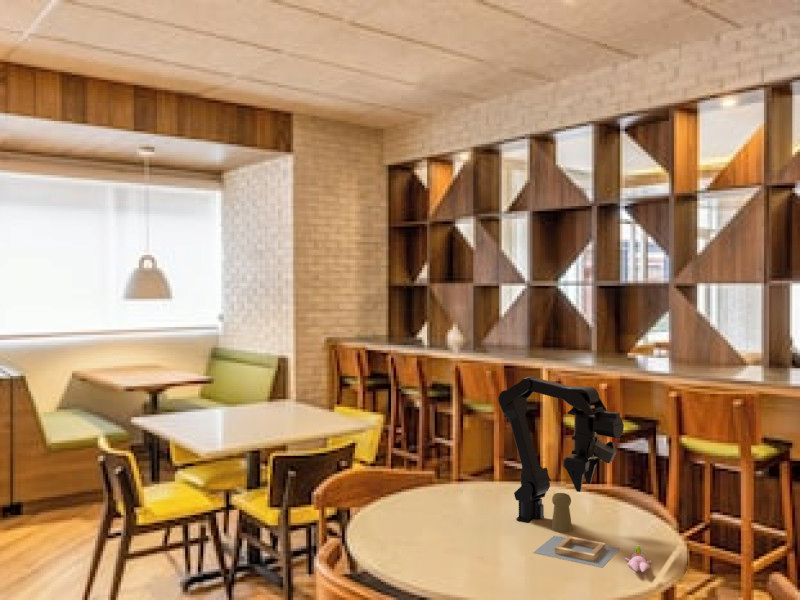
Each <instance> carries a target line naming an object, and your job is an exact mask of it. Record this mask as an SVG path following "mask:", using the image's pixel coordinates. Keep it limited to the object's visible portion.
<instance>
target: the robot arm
mask: <svg viewBox="0 0 800 600" xmlns="http://www.w3.org/2000/svg"><path fill="white" fill-rule="evenodd" d="M533 393H535V394H536V393H537V394H541V395H543V396H544V395H545V396H547V397H552V398H555V399H558V400H563V401H564V402H566V403H567V404H568V405H569V406H572V408H571V409H570V410H568V411H567V413H566V414H567V415H568V416H574V417H573V418H574V424H573V425H574V428H573V431H574V432H573V435H572V436H571V441H572V440H573V449H572V450H571V454H570V455H567V456H566V457H565V458H564V459H563V461H562V467H563V468H564V469H565V470H566V471H567V474H568V476H569V477H570V480H571V482H572V484H573V488H574V489H575V491H576V492H578V493H580V492H582V486H583V481H584V479H585V482H586V484H591V483H592V479H593V477H594V473H595V469H596V465H597V464H598V463H600V462H601V461H603V462H604V463H606V464H611V463H612V462H613V461H614V459H615V457H616V455H617V453H618V452H617V451H618V450H617V448H616V445H615V442H612V440H611V441H608V442H606V443H605V442H601V441H599V437H598V436H602V437H603V436H604V437H609V438H613V439H620V438H621V437H622V435H623V433H624V430H625V429H624V427H625V426H624V422H623V420H622V418H621V417H620V415H621V414H620V412H617V411H611V412H610V411H608V409H607V408H606V406H605V404H604V402H603V401H602V399H601V397H600V394H599V392H598V390H597V389H596V388H595V387H593V386H586V385H585V386H584V385H583V386H582V385H580V386H579V385H575V386H574V385H566V384H562V383H559V382H555V381H550V380H545V379H543V378H538V377H536V376H533V375H531V376H527V377H524V378H523V379H521V380H520V381H519V382H517V383H516V384H514V385H513V386H510V387H509V388H507V389H504V390H503V391H500V393H499V395H498V397H497V399H498V400H497V401H498V404H499V407H500V409H501V410H502V413H503V414H504V415H505V417H506V418H507V419H508V420H509V423H510V427H511V430H512V435H513V438H514V441H515V445H516V449H517V453H518V456H519V457H518V458H519V460H520V465H521V471H520V476H519V477H520V478H519V479H520V487H519V488H517V489H516V490H515V492H514V493H513V494H514V495H513V496H514V499H515V501H517V502H518V516H517V517H516V519H515V520H516V521H519V522H520V521H521V522H525V523H531V522H532V521H534V520H542V519H545V515H544V513H545V512H544V505H545V504H543V499H542V498H545V497H546V494H547V492H548V491H549V489H550V488H551V484H550V483H551V481H552V480H551V478H550V475H549V470H548V468H547V467H544V468H543V467H542V465H540V463H539V461H538V458H537V455H536V451H535V447H534V443H533V439H532V435H531V433H530V428H529V425H528V421H527V418H526V415H527V410H528V403H527V400H528V399H529V398H530V397H532V395H533Z"/></svg>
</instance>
